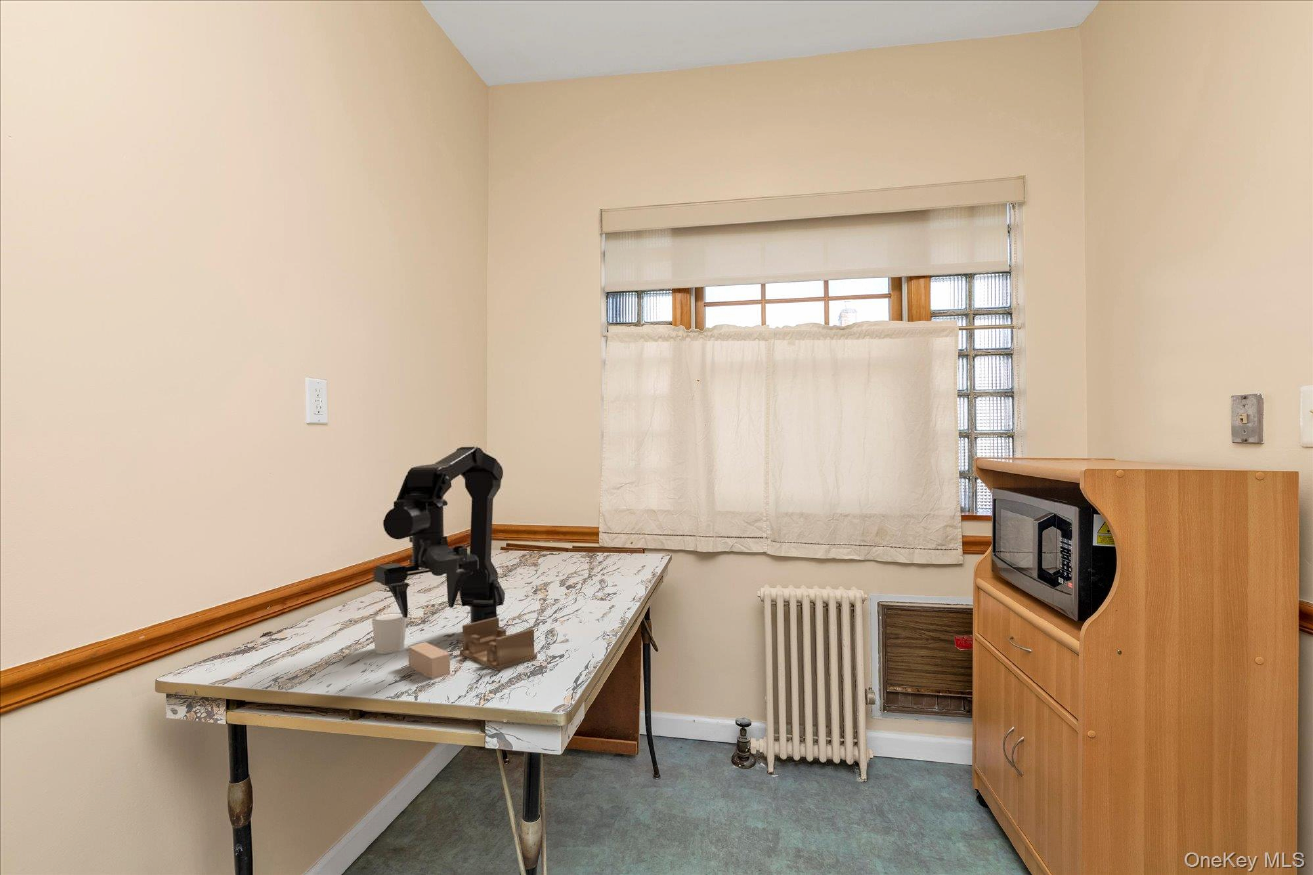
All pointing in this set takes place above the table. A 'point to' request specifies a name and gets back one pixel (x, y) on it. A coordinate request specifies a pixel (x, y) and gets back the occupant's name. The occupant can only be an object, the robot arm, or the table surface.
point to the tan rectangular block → (429, 660)
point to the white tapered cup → (389, 632)
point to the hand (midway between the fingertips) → (428, 612)
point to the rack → (497, 644)
